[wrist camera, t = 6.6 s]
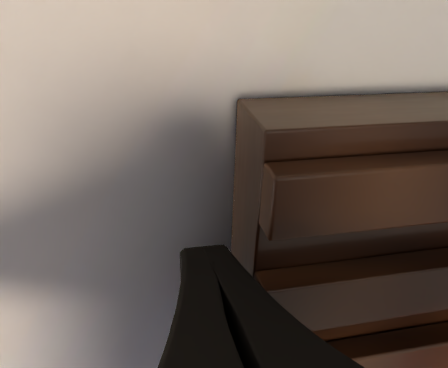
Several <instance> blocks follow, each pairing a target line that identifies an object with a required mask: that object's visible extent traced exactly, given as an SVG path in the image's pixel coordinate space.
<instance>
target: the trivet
mask: <svg viewBox="0 0 448 368" xmlns="http://www.w3.org/2000/svg"><path fill="white" fill-rule="evenodd" d="M231 253H232V254H233V255H234V256H235V258H236V259H237V260H238V261H239V262H240V263H241V265H242V266H243V267H244V268H245V269H246V270H247V271H248V272H249V273H250V275H251V276H252V277H253V278H254V279H255V280H256V281H257V282H258V283H259V284H260V285H261V286H262V287H263V288H264V289H265V290H266V291H267V292H268V293H269V294H270V295H271V296H272V297H273V298H274V299H275V300H276V301H277V302H278V303H279V304H280V305H281V306H283V307H284V308H285V309H286V310H287V311H288V312H289V313H290V314H291V315H293V316H294V317H295V318H296V319H297V320H298V321H300V322H301V323H302V324H303V325H304V326H306V327H307V328H308V329H309V330H311V331H312V332H313V333H315V334H316V335H317V336H319V337H320V338H321V339H323V340H324V341H325V342H327V343H328V344H329V345H331V346H332V347H334V348H335V349H337V350H338V351H340V352H341V353H343V354H344V355H346V356H348V357H349V358H351V359H352V360H354V361H355V362H357V363H358V364H360V365H362V366H363V367H365V368H448V92H427V93H399V94H370V95H342V96H314V97H285V98H257V99H239V100H238V102H237V123H236V146H235V169H234V191H233V214H232V237H231Z"/></svg>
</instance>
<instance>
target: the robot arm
mask: <svg viewBox="0 0 448 368" xmlns="http://www.w3.org/2000/svg"><path fill="white" fill-rule="evenodd" d="M180 270H181V284H180V290H179V295H178V301H177V306H176V310H175V314H174V318H173V322H172V325H171V329H170V333H169V336H168V339H167V342H166V345H165V348H164V351H163V354H162V357H161V360H160V363H159V365H158V368H365V367H363V366H362V365H360V364H358V363H357V362H355V361H354V360H352V359H351V358H349V357H348V356H346V355H344V354H343V353H341V352H340V351H338V350H337V349H335V348H334V347H332V346H331V345H329V344H328V343H327V342H325V341H324V340H323V339H321V338H320V337H319V336H317V335H316V334H315V333H313V332H312V331H311V330H309V329H308V328H307V327H306V326H304V325H303V324H302V323H301V322H300V321H298V320H297V319H296V318H295V317H294V316H293V315H291V314H290V313H289V312H288V311H287V310H286V309H285V308H284V307H283V306H281V305H280V304H279V303H278V302H277V301H276V300H275V299H274V298H273V297H272V296H271V295H270V294H269V293H268V292H267V291H266V290H265V289H264V288H263V287H262V286H261V285H260V284H259V283H258V282H257V281H256V280H255V279H254V278H253V277H252V276H251V275H250V273H249V272H248V271H247V270H246V269H245V268H244V267H243V266H242V265H241V263H240V262H239V261H238V260H237V259H236V258H235V256H234V255H233V254H232V253H231V252H230V250H229V249H228V248H227V247H226V246H225V245H224V244H222V245H212V246H203V247H193V248H184V249H183V250H182V251H181V252H180Z"/></svg>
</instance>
